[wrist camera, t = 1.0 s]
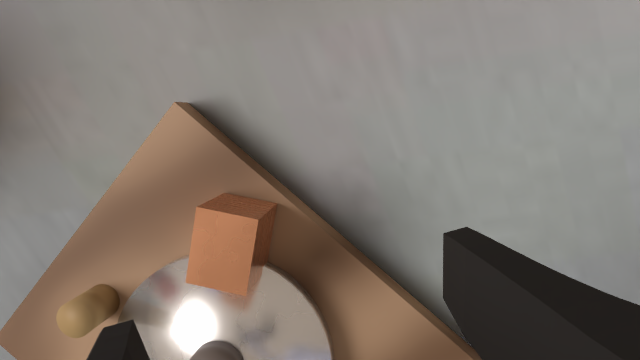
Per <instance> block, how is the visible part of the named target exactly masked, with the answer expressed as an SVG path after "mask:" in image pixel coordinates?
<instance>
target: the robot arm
mask: <svg viewBox="0 0 640 360" xmlns="http://www.w3.org/2000/svg"><path fill="white" fill-rule="evenodd" d="M443 299H444V301H445V302H446V304H447V306H448V308H449V310H450V312H451V313H452V315H453V317H454V319H455V321H456V322H457V324H458V326H459V327H460V329H461V331H462V333H463V334H464V336H465V337H466V338H467V340H468V341H469V343H470V344H471V345H472V347H473V348H474V349H475V351H476V352H477V353H478V355H479V356H480V358H481V359H482V360H640V305H637V304H634V303H631V302H629V301H626V300H623V299H620V298H618V297H615V296H613V295H610V294H607V293H605V292H602V291H600V290H598V289H595V288H593V287H591V286H588V285H586V284H584V283H581V282H579V281H577V280H574V279H572V278H570V277H568V276H566V275H563V274H561V273H559V272H557V271H555V270H553V269H550V268H548V267H546V266H544V265H542V264H540V263H538V262H536V261H534V260H532V259H530V258H528V257H526V256H524V255H522V254H520V253H518V252H516V251H514V250H512V249H510V248H508V247H506V246H504V245H502V244H500V243H498V242H497V241H495V240H493V239H491V238H489V237H487V236H485V235H483V234H481V233H479V232H477V231H475V230H472V229H470V228H468V227H465V228H461V229H457V230H454V231H450V232H447V233H444V235H443ZM86 360H150V358H149V356H148V354H147V351H146V349H145V346H144V344H143V342H142V339H141V337H140V334H139V332H138V330H137V327H136V325H135V322H134V320H129V321H125V322H122V323H118V324H115V325H111V326H107V327H104V328H103V329H102V331H101V332H100V334H99V336H98V338H97V339H96V341H95V343H94V345H93V347H92V349H91V351H90V353H89V355H88V357H87V359H86Z"/></svg>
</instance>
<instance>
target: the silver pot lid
mask: <svg viewBox="0 0 640 360" xmlns="http://www.w3.org/2000/svg"><path fill="white" fill-rule="evenodd" d="M276 209H277V203H273V202H268V201H263V200H258V199H253V198H248V197H243V196H239V195H234V194H229V193H223V194H221V195H219V196H217V197H215V198H213V199H211V200H209V201H207V202H205V203H203V204H201V205H199V206H197V207H196V212H195V219H194V226H193V233H192V240H191V247H190V254H189V255H186V256H183V257H181V258H178V259H176V260H174V261H172V262H170V263H169V264H167V265H165V266H164V267H162V268H161V269H159V270H158V271H156V272H155V273H153V274H152V275H151V276H150V277H148V278H147V279H146V280H145V281H143V282H142V283H141V284H140V286H139V287H138V288H137V289H136V290H135V291H134V292H133V293H132V295H131V296H130V298H129V299H128V301H127V302H126V304H125V306H124V308H123V310H122V312H121V314H120V316H119V319H118V322H117V324H118V323H122V322H125V321H129V320H134V322H135V325H136V327H137V330H138V332H139V334H140V337H141V339H142V342H143V344H144V346H145V349H146V351H147V354H148V356H149V358H150V360H190V358H191V357H192V356H193V355H194V353H195V352H196V351H197V349H198V348H199V347H200V346H202V345H203V344H205V343H207V342H210V341H223V342H226V343H228V344H230V345H232V346H233V347H235V348H236V349H237V350H238V351H239V353H240V354H241V356H242V357H243V360H334V353H333V347H332V340H331V336H330V333H329V330H328V326H327V324H326V322H325V319H324V317H323V315H322V313H321V311H320V309H319V308H318V306H317V304H316V303H315V301H314V300H313V298H312V297H311V296H310V295H309V293H308V292H307V291H306V290H305V288H304V287H303V286H302V285H301V284H299V283H298V282H297V281H296V280H295V279H294V278H293V277H292V276H290V275H289V274H288V273H287V272H285V271H284V270H283V269H281V268H279V267H277V266H276V265H274V264H272V263H270V262H268V256H269V250H270V244H271V238H272V233H273V227H274V221H275V215H276Z"/></svg>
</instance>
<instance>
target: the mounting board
mask: <svg viewBox="0 0 640 360" xmlns="http://www.w3.org/2000/svg"><path fill="white" fill-rule="evenodd" d="M223 193H229V194H234V195H239V196H243V197H248V198H253V199H258V200H263V201H268V202H273V203H277V209H276V215H275V221H274V227H273V233H272V238H271V244H270V250H269V256H268V262H270V263H272V264H274V265H276V266H277V267H279V268H281V269H283V270H284V271H285V272H287V273H288V274H289V275H290V276H292V277H293V278H294V279H295V280H296V281H297V282H298V283H299V284H301V285H302V286H303V287H304V288H305V290H306V291H307V292H308V293H309V295H310V296H311V297H312V298H313V300H314V301H315V303H316V304H317V306H318V308H319V309H320V311H321V313H322V315H323V317H324V319H325V322H326V324H327V326H328V330H329V333H330V336H331V340H332V347H333V353H334V360H482V359H481V358H480V356H479V355H478V353H477V352H476V351H475V350H474V349H473V348H472V347H471V346H470V345H469V344H467V343H466V342H465V341H464V340H463V339H462V338H460V337H459V336H458V335H457V334H456V333H455V332H453V331H452V330H451V329H450V328H449V327H448V326H446V325H445V324H444V323H443V322H442V321H441V320H439V319H438V318H437V317H436V316H435V315H434V314H433V313H431V312H430V311H429V310H428V309H427V308H426V307H424V306H423V305H422V304H421V303H420V302H419V301H417V300H416V299H415V298H414V297H413V296H412V295H410V294H409V293H408V292H407V291H406V290H405V289H403V288H402V287H401V286H400V285H399V284H398V283H396V282H395V281H394V280H393V279H392V278H391V277H389V276H388V275H387V274H386V273H385V272H384V271H383V270H381V269H380V268H379V267H378V266H377V265H376V264H374V263H373V262H372V261H371V260H370V259H369V258H367V257H366V256H365V255H364V254H363V253H362V252H360V251H359V250H358V249H357V248H356V247H355V246H353V245H352V244H351V243H350V242H349V241H348V240H346V239H345V238H344V237H343V236H342V235H341V234H340V233H338V232H337V231H336V230H335V229H334V228H333V227H331V226H330V225H329V224H328V223H327V222H326V221H324V220H323V219H322V218H321V217H320V216H319V215H317V214H316V213H315V212H314V211H313V210H312V209H310V208H309V207H308V206H307V205H306V204H305V203H303V202H302V201H301V200H300V199H299V198H298V197H297V196H295V195H294V194H293V193H292V192H291V191H290V190H288V189H287V188H286V187H285V186H284V185H283V184H281V183H280V182H279V181H278V180H277V179H276V178H274V177H273V176H272V175H271V174H270V173H269V172H267V171H266V170H265V169H264V168H263V167H262V166H260V165H259V164H258V163H257V162H256V161H255V160H253V159H252V158H251V157H250V156H249V155H248V154H247V153H245V152H244V151H243V150H242V149H241V148H240V147H238V146H237V145H236V144H235V143H234V142H233V141H231V140H230V139H229V138H228V137H227V136H226V135H224V134H223V133H222V132H221V131H220V130H219V129H217V128H216V127H215V126H214V125H213V124H212V123H210V122H209V121H208V120H207V119H206V118H205V117H204V116H202V115H201V114H200V113H199V112H198V111H197V110H195V109H194V108H193V107H192V106H191V105H190V104H188V103H183V102H174V103H173V105H172V106H171V107H170V109H169V110H168V111H167V112H166V114H165V115H164V116H163V118H162V119H161V120H160V122H159V123H158V124H157V126H156V127H155V128H154V130H153V131H152V132H151V134H150V135H149V136H148V137H147V139H146V140H145V141H144V143H143V144H142V145H141V147H140V148H139V149H138V151H137V152H136V153H135V155H134V156H133V157H132V159H131V160H130V161H129V162H128V164H127V165H126V166H125V168H124V169H123V170H122V172H121V173H120V174H119V176H118V177H117V178H116V180H115V181H114V182H113V183H112V185H111V186H110V187H109V189H108V190H107V191H106V193H105V194H104V195H103V197H102V198H101V199H100V201H99V202H98V203H97V205H96V206H95V207H94V208H93V210H92V211H91V212H90V214H89V215H88V216H87V218H86V219H85V220H84V222H83V223H82V224H81V226H80V227H79V228H78V230H77V231H76V232H75V233H74V235H73V236H72V237H71V239H70V240H69V241H68V243H67V244H66V245H65V247H64V248H63V249H62V251H61V252H60V253H59V255H58V256H57V257H56V258H55V260H54V261H53V262H52V264H51V265H50V266H49V268H48V269H47V270H46V272H45V273H44V274H43V276H42V277H41V278H40V280H39V281H38V282H37V283H36V285H35V286H34V287H33V289H32V290H31V291H30V293H29V294H28V295H27V297H26V298H25V299H24V301H23V302H22V303H21V305H20V306H19V307H18V308H17V310H16V311H15V312H14V314H13V315H12V316H11V318H10V319H9V320H8V322H7V323H6V324H5V326H4V327H3V328H2V330H1V331H0V345H1V346H2V347H3V348H4V349H6V350H7V351H8V352H9V353H10V354H11V355H12V356H14V357H15V358H16V359H17V360H86V359H87V357H88V355H89V353H90V351H91V349H92V347H93V345H94V343H95V341H96V339H97V338H98V336H99V334H100V332H101V331H102V329H103V328H104V327H107V326H111V325H115V324H117V322H118V319H119V316H120V314H121V312H122V310H123V308H124V306H125V304H126V302H127V301H128V299H129V298H130V296H131V295H132V293H133V292H134V291H135V290H136V289H137V288H138V287H139V286H140V284H141V283H142V282H143V281H145V280H146V279H147V278H148V277H150V276H151V275H152V274H153V273H155V272H156V271H158V270H159V269H161V268H162V267H164V266H165V265H167V264H169V263H170V262H172V261H174V260H176V259H178V258H181V257H183V256H186V255H189V254H190V247H191V240H192V233H193V226H194V219H195V212H196V207H197V206H199V205H201V204H203V203H205V202H207V201H209V200H211V199H213V198H215V197H217V196H219V195H221V194H223ZM190 360H243V357H242V356H241V354H240V353H239V351H238V350H237V349H236V348H235V347H233V346H232V345H230V344H228V343H226V342H223V341H210V342H207V343H205V344H203V345H202V346H200V347H199V348H198V349H197V351H196V352H195V353H194V355H193V356H192V357H191V358H190Z"/></svg>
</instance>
